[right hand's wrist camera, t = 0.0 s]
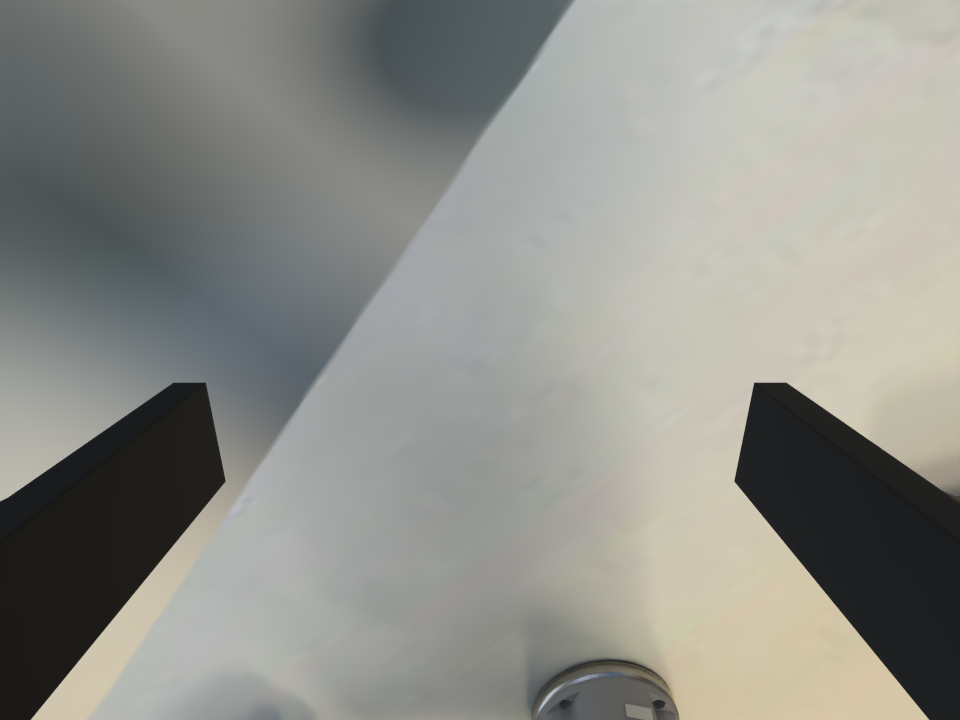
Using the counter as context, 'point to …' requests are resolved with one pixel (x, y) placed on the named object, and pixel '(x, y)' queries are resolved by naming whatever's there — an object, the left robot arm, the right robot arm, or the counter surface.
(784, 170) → the counter surface
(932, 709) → the right robot arm
